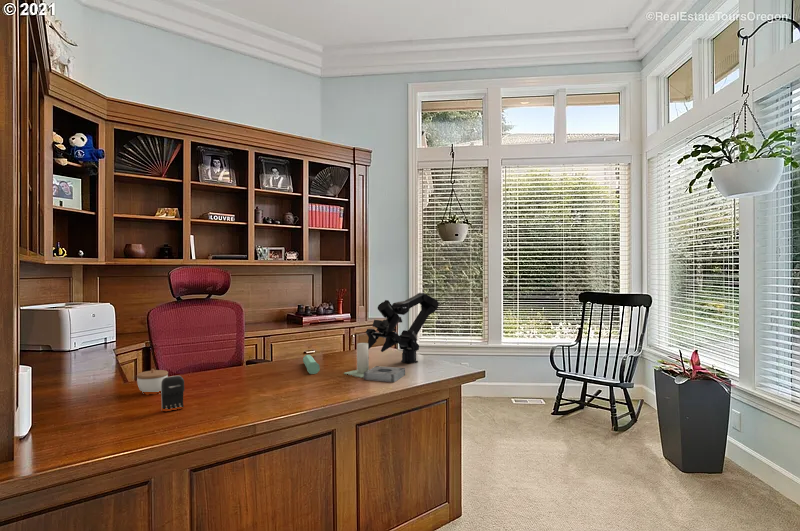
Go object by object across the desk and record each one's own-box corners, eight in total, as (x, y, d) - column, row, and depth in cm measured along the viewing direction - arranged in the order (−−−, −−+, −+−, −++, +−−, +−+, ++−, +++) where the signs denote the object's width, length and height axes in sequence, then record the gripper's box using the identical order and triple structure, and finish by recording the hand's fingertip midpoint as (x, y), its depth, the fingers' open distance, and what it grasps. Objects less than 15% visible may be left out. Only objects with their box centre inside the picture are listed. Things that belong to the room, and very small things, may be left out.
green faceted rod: (304, 351, 236) (309, 360, 213) (315, 355, 238) (322, 364, 214) (299, 362, 236) (304, 372, 212) (310, 366, 237) (317, 376, 213)
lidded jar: (132, 393, 182) (132, 369, 182) (161, 387, 190) (161, 364, 190) (142, 398, 175) (142, 373, 175) (172, 392, 183) (172, 368, 183)
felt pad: (363, 369, 221) (363, 368, 221) (381, 373, 213) (381, 372, 213) (343, 373, 213) (343, 372, 213) (362, 377, 204) (362, 376, 204)
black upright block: (163, 413, 156) (163, 379, 156) (160, 411, 159) (160, 377, 159) (185, 409, 161) (185, 376, 161) (182, 407, 164) (182, 374, 164)
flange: (376, 372, 215) (376, 366, 215) (405, 374, 210) (405, 368, 210) (363, 379, 201) (363, 372, 201) (394, 382, 197) (394, 375, 197)
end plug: (367, 370, 216) (367, 342, 216) (369, 373, 211) (369, 344, 211) (356, 371, 215) (356, 343, 215) (358, 374, 210) (357, 344, 210)
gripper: (368, 311, 229) (351, 337, 220) (396, 314, 216) (380, 342, 208) (379, 326, 235) (363, 351, 226) (407, 329, 222) (392, 356, 214)
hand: (374, 350), depth 219 cm, fingers open, 9 cm apart
